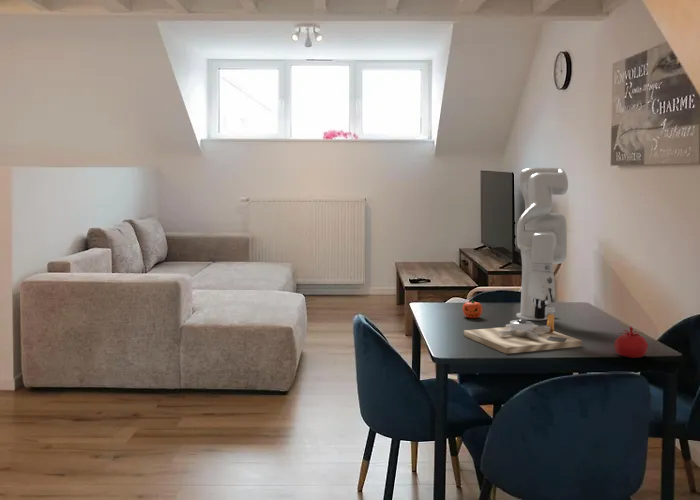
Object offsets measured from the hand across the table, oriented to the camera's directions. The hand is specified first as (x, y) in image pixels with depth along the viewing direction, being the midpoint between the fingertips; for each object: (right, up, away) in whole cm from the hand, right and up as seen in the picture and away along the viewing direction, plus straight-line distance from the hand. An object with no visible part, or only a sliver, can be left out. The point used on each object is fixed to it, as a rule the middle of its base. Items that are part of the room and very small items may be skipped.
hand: (539, 318), depth 254 cm
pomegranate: (+22, -10, -27) cm, 36 cm away
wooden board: (-9, -7, -10) cm, 15 cm away
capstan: (-7, -4, -9) cm, 12 cm away
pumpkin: (-19, -3, +29) cm, 35 cm away
